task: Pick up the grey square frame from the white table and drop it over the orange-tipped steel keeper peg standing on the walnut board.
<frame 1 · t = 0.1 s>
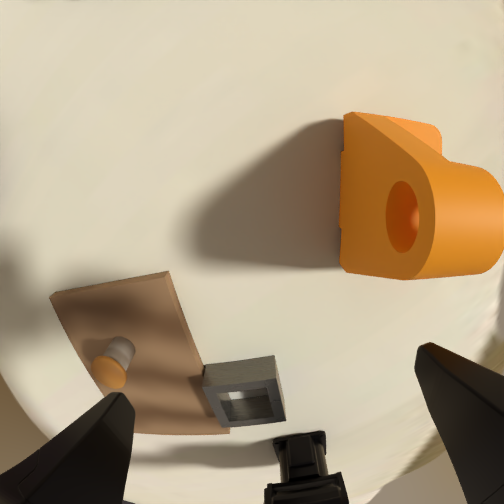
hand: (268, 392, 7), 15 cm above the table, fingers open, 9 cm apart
bracket: (382, 190, 20), on the table
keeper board: (144, 370, 25), on the table
grey square frame: (247, 383, 26), on the table
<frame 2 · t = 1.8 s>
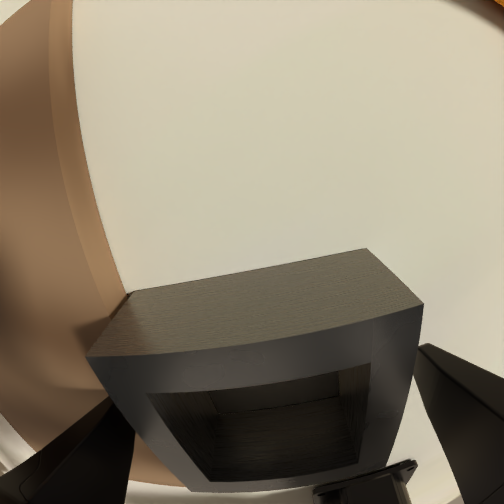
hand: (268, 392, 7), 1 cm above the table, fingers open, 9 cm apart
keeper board: (8, 314, 8), on the table
grey square frame: (267, 365, 8), on the table
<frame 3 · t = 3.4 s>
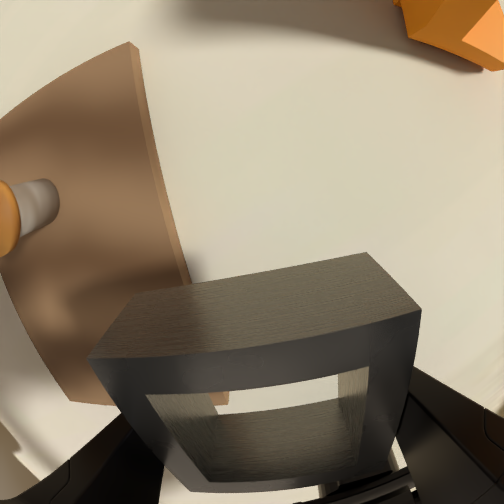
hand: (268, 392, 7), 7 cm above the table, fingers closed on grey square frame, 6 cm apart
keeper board: (77, 265, 14), on the table
grey square frame: (267, 367, 8), point 6 cm above the table, touching gripper
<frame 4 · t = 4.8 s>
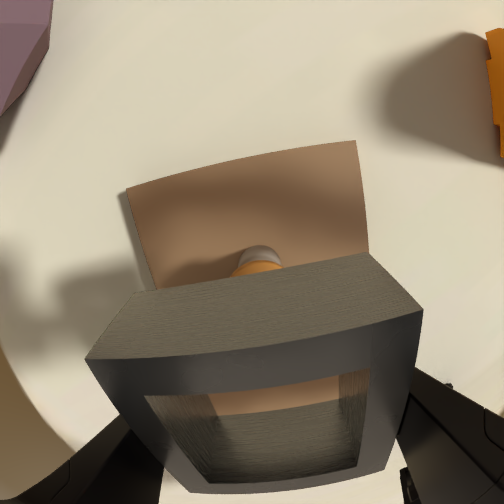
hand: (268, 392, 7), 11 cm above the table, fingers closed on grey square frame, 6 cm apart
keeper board: (271, 313, 19), on the table
grey square frame: (267, 367, 8), point 10 cm above the table, touching gripper
flask: (15, 56, 12), on the table
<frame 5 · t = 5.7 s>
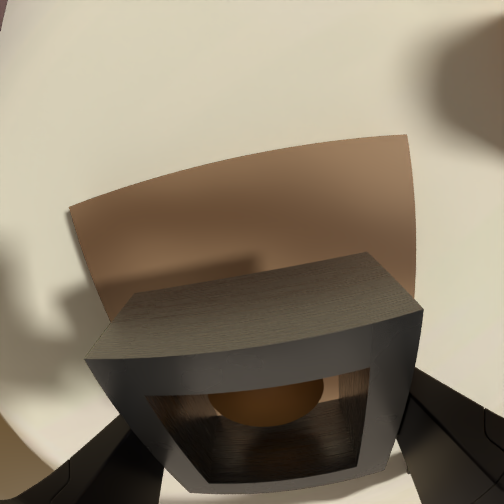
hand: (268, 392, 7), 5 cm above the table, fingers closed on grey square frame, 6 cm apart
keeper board: (276, 370, 13), on the table
grey square frame: (267, 367, 8), point 4 cm above the table, touching gripper
when the fingers open (3 cm above the table, at t = 6.5 s): grey square frame drops 1 cm, resting on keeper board.
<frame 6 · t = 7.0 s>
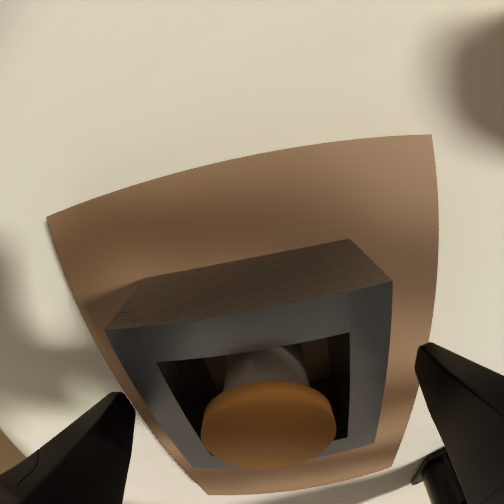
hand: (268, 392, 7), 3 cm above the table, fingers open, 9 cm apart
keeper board: (279, 393, 12), on the table
grey square frame: (263, 345, 9), point 1 cm above the table, touching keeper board
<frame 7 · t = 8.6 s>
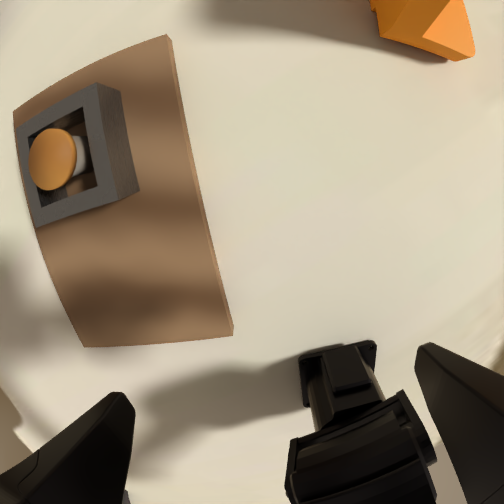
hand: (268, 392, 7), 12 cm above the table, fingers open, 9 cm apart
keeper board: (108, 210, 17), on the table
grey square frame: (85, 155, 15), point 1 cm above the table, touching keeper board
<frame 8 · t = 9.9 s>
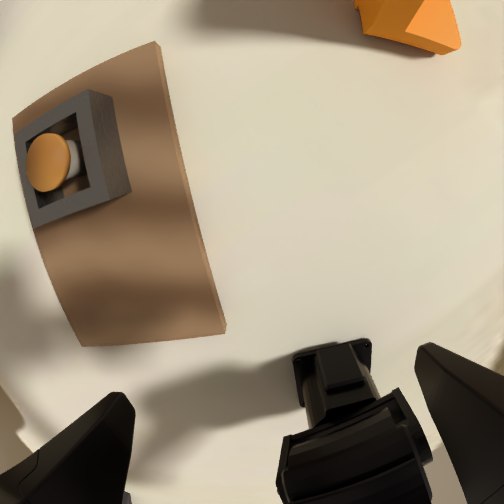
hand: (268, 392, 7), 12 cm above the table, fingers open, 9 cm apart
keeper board: (103, 212, 18), on the table
calculator: (108, 491, 37), on the table
grey square frame: (81, 159, 15), point 1 cm above the table, touching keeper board
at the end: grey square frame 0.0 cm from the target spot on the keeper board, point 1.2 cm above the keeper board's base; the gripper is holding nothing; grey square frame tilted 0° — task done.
